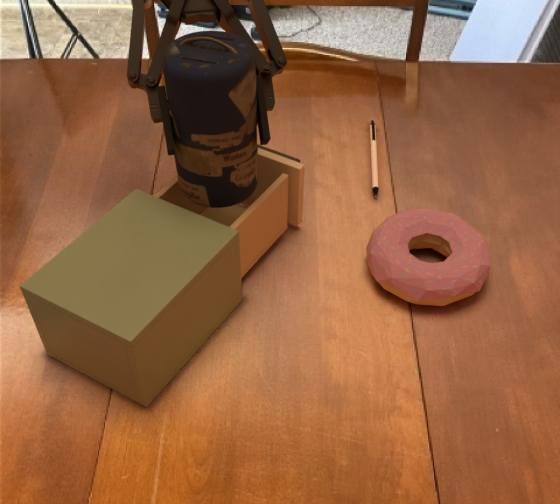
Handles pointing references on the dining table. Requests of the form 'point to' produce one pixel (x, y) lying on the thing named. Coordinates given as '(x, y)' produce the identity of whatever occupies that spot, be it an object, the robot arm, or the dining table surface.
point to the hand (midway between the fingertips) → (218, 147)
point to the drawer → (256, 205)
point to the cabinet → (137, 294)
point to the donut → (422, 275)
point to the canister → (213, 116)
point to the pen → (374, 158)
